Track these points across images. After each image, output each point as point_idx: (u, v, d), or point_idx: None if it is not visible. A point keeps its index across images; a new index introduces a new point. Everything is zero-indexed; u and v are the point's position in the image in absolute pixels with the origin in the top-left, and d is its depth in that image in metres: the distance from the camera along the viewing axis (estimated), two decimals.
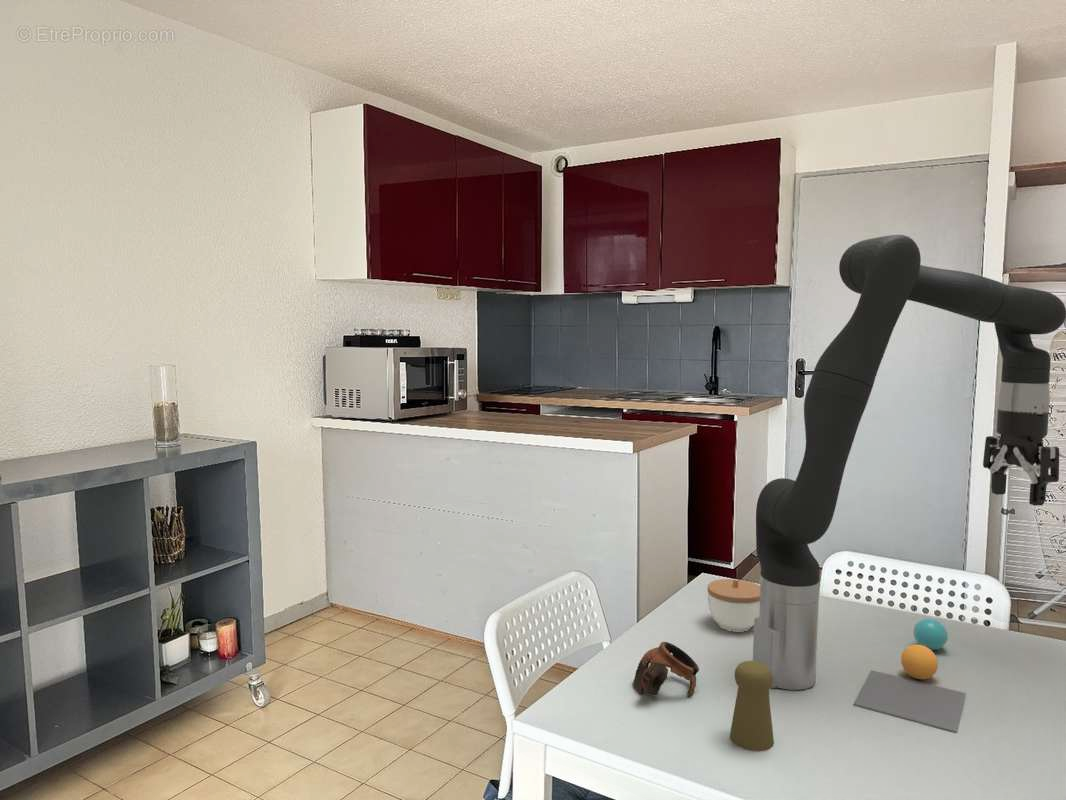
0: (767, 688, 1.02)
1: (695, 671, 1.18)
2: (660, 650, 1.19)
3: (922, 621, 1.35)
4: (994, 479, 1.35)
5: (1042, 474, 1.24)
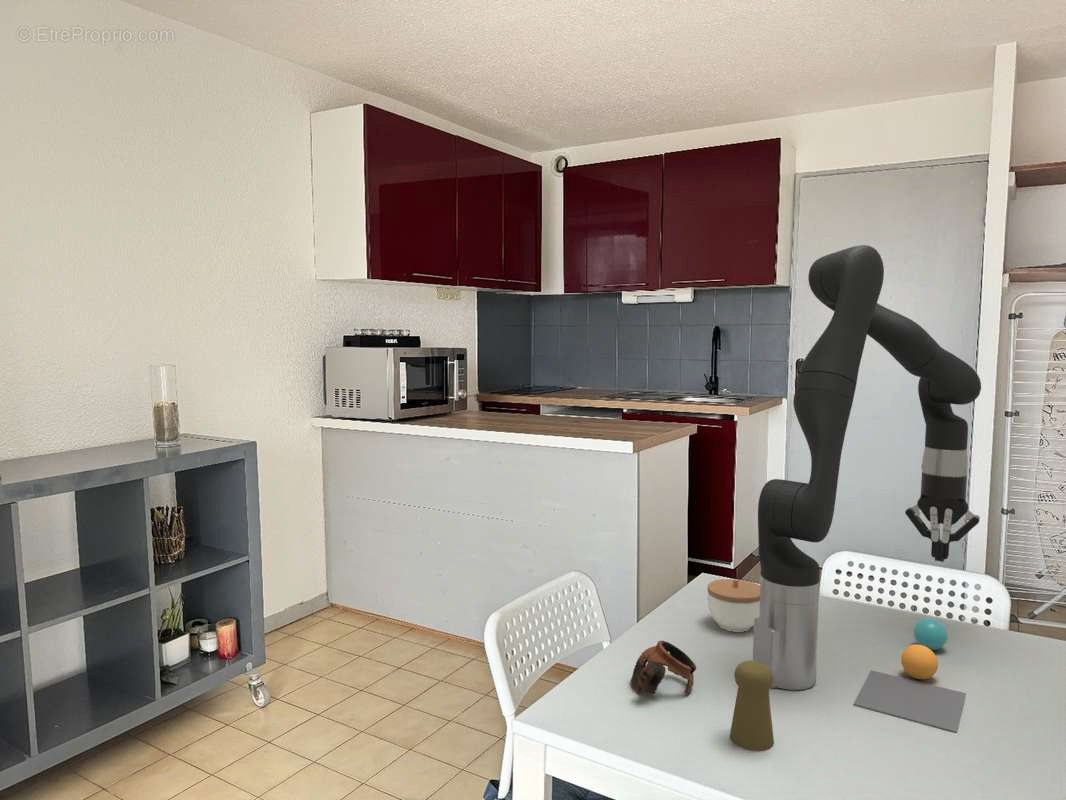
0: (767, 688, 1.02)
1: (692, 670, 1.19)
2: (657, 649, 1.19)
3: (922, 621, 1.35)
4: None
5: None
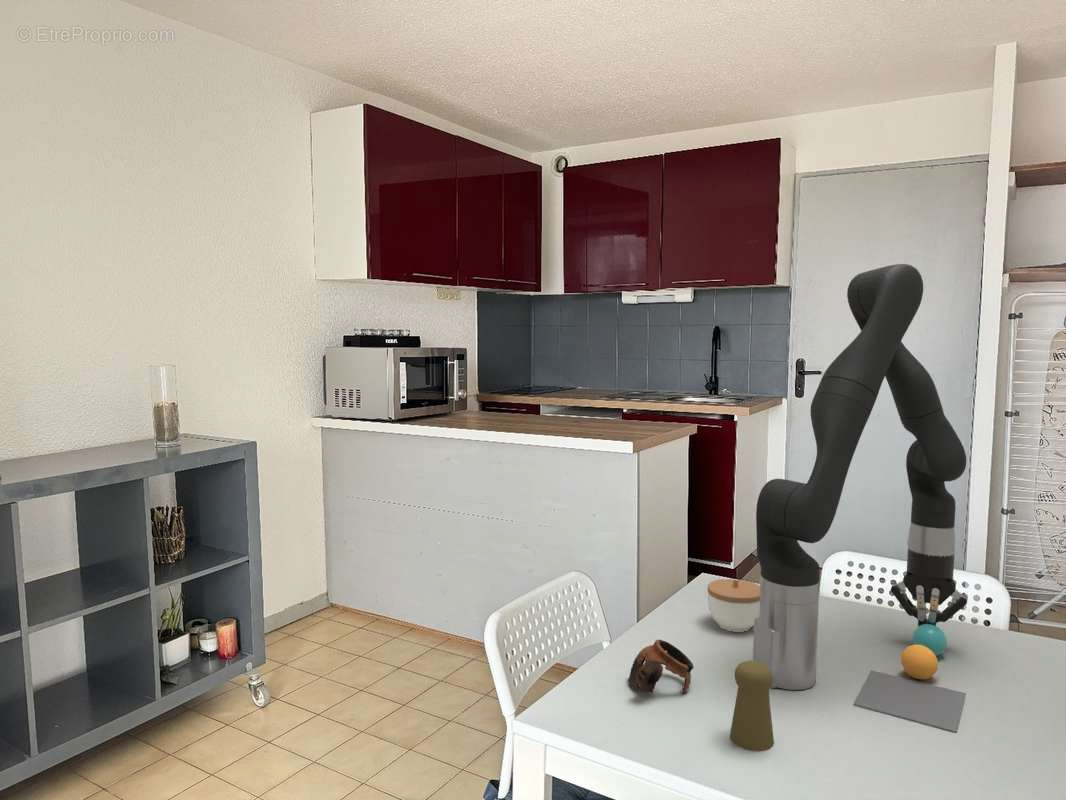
0: (767, 688, 1.02)
1: (690, 668, 1.19)
2: (655, 648, 1.20)
3: (920, 636, 1.31)
4: None
5: None
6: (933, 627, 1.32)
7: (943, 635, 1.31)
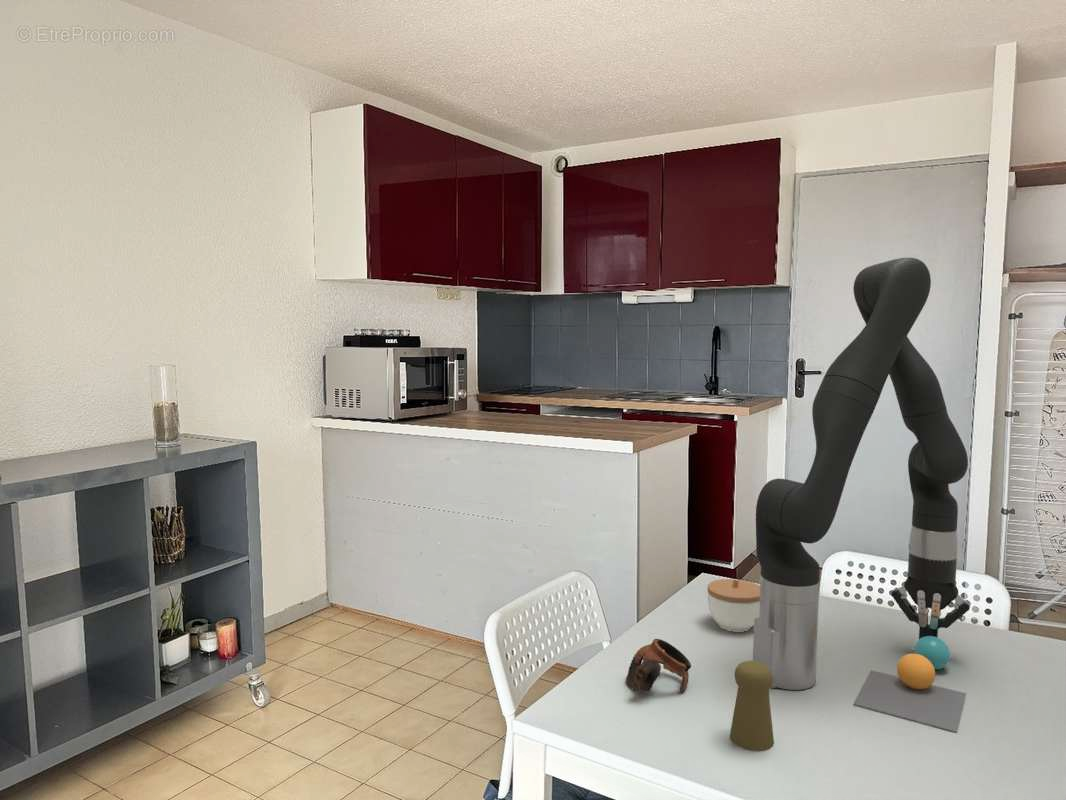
0: (767, 688, 1.02)
1: (687, 667, 1.20)
2: (653, 647, 1.20)
3: None
4: None
5: None
6: None
7: (943, 666, 1.26)
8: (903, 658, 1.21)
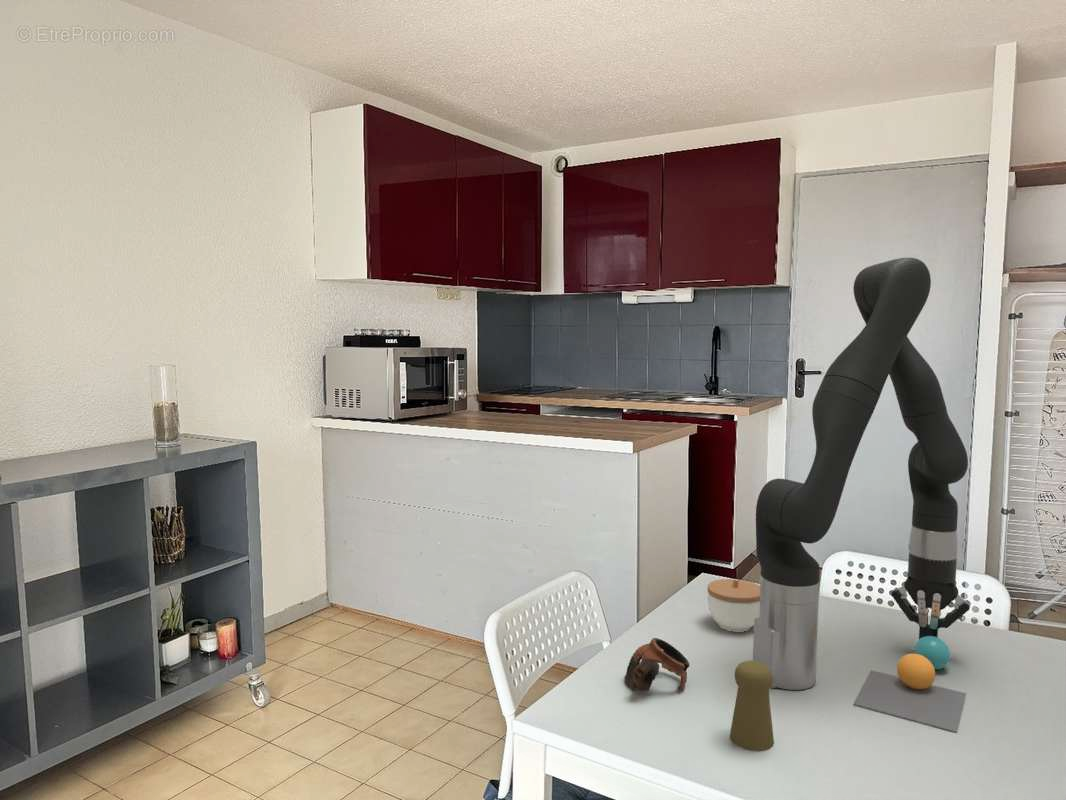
0: (767, 688, 1.02)
1: (686, 666, 1.20)
2: (651, 646, 1.20)
3: None
4: None
5: None
6: None
7: (943, 666, 1.26)
8: (903, 658, 1.21)
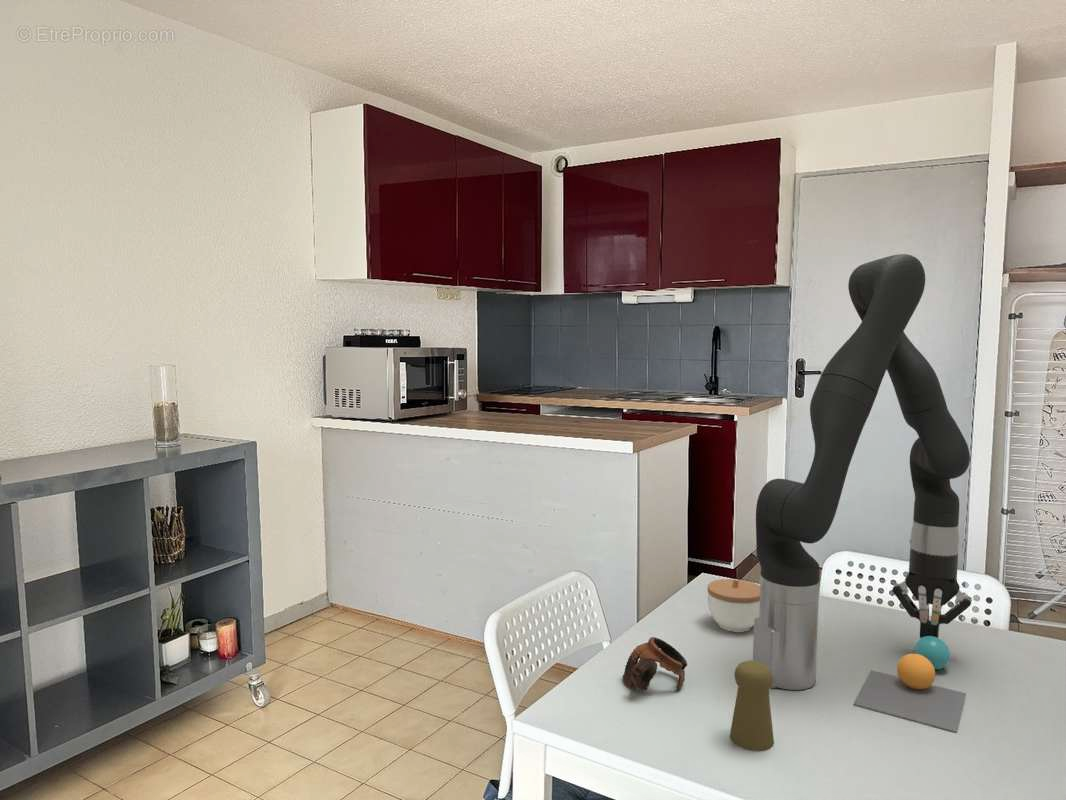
0: (767, 688, 1.02)
1: (683, 665, 1.20)
2: (649, 645, 1.21)
3: None
4: None
5: None
6: None
7: (943, 666, 1.26)
8: (903, 658, 1.21)
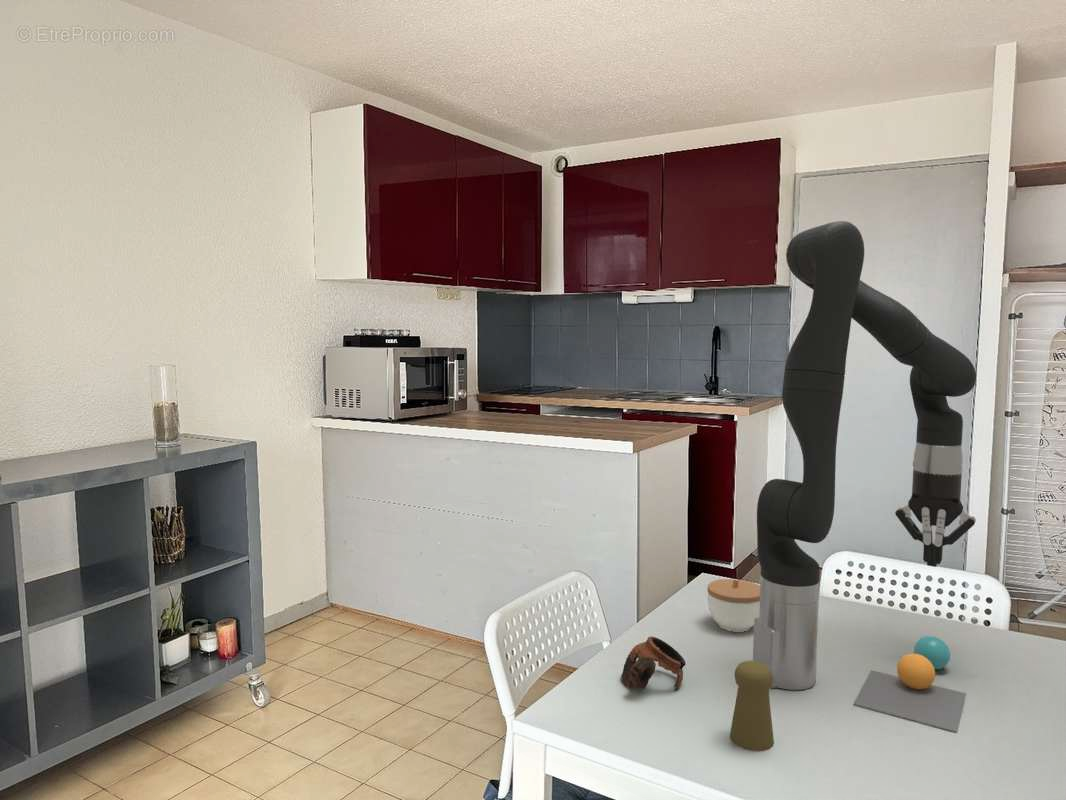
0: (767, 688, 1.02)
1: (682, 665, 1.21)
2: (647, 645, 1.21)
3: None
4: None
5: None
6: None
7: (943, 666, 1.26)
8: (903, 658, 1.21)
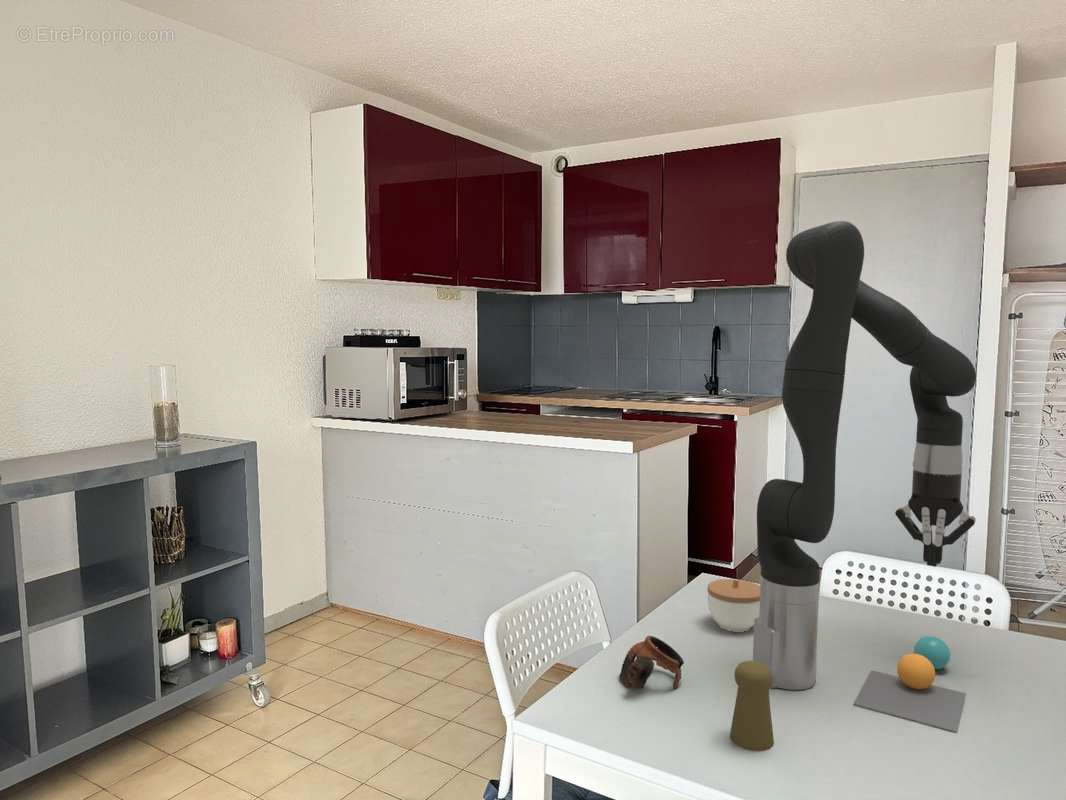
0: (767, 688, 1.02)
1: (680, 664, 1.21)
2: (646, 644, 1.21)
3: None
4: None
5: None
6: None
7: (943, 666, 1.26)
8: (903, 658, 1.21)
